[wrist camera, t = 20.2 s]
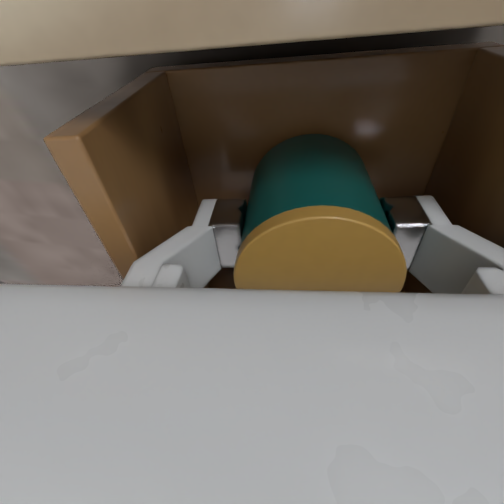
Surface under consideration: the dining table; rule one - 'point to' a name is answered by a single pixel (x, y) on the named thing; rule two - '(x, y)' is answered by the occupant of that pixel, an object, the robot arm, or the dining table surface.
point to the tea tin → (316, 223)
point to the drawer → (268, 107)
